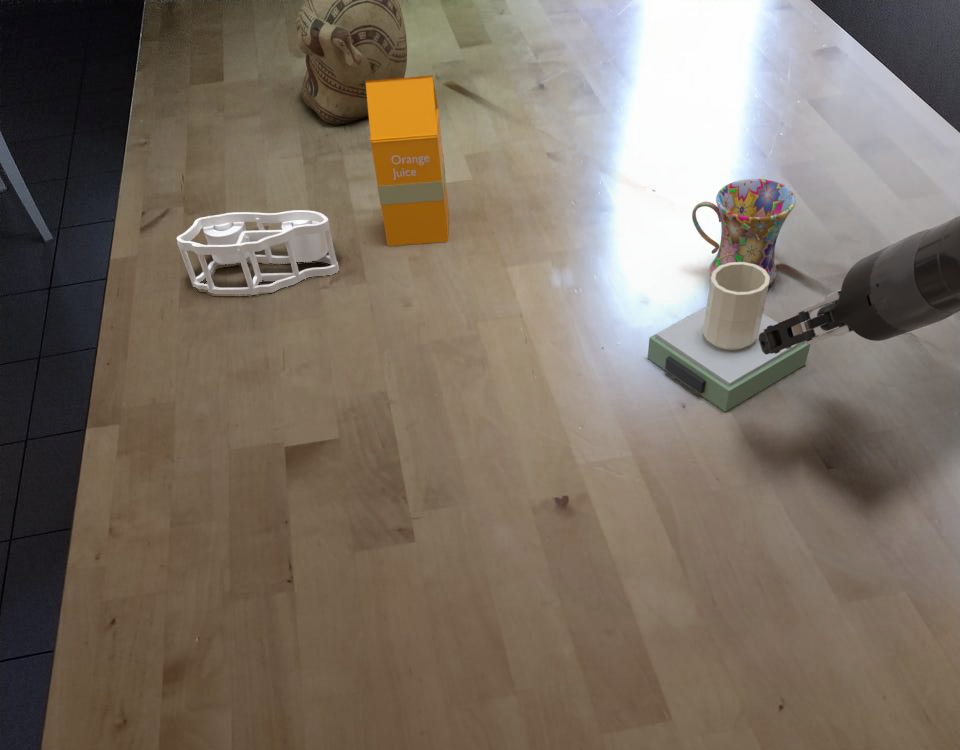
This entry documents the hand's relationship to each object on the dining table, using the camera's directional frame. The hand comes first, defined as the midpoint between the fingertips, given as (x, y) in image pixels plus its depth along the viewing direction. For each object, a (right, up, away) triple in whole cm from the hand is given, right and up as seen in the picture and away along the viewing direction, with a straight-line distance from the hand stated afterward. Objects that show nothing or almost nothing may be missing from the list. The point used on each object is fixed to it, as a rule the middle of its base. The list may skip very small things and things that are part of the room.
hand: (798, 330), depth 93 cm
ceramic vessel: (-54, +60, +62) cm, 102 cm away
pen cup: (-4, +3, +11) cm, 12 cm away
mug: (0, +15, +24) cm, 28 cm away
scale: (-4, +1, +14) cm, 14 cm away
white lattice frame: (-63, +19, +32) cm, 73 cm away
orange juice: (-42, +27, +36) cm, 62 cm away
